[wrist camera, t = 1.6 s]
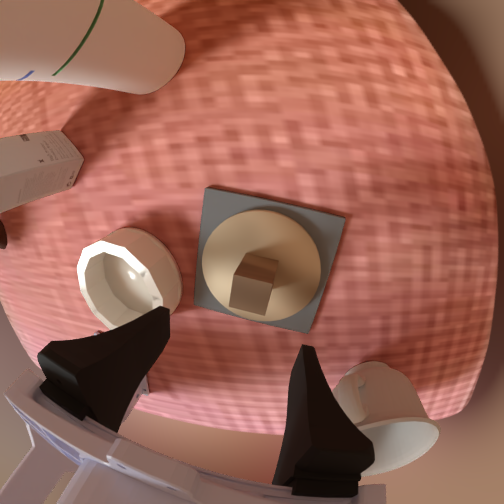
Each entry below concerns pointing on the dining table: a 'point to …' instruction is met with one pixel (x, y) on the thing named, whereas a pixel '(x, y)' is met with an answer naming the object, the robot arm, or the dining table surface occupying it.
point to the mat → (314, 222)
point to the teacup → (386, 414)
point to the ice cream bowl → (2, 237)
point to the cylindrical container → (88, 44)
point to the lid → (261, 265)
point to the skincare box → (36, 167)
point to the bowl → (128, 276)
